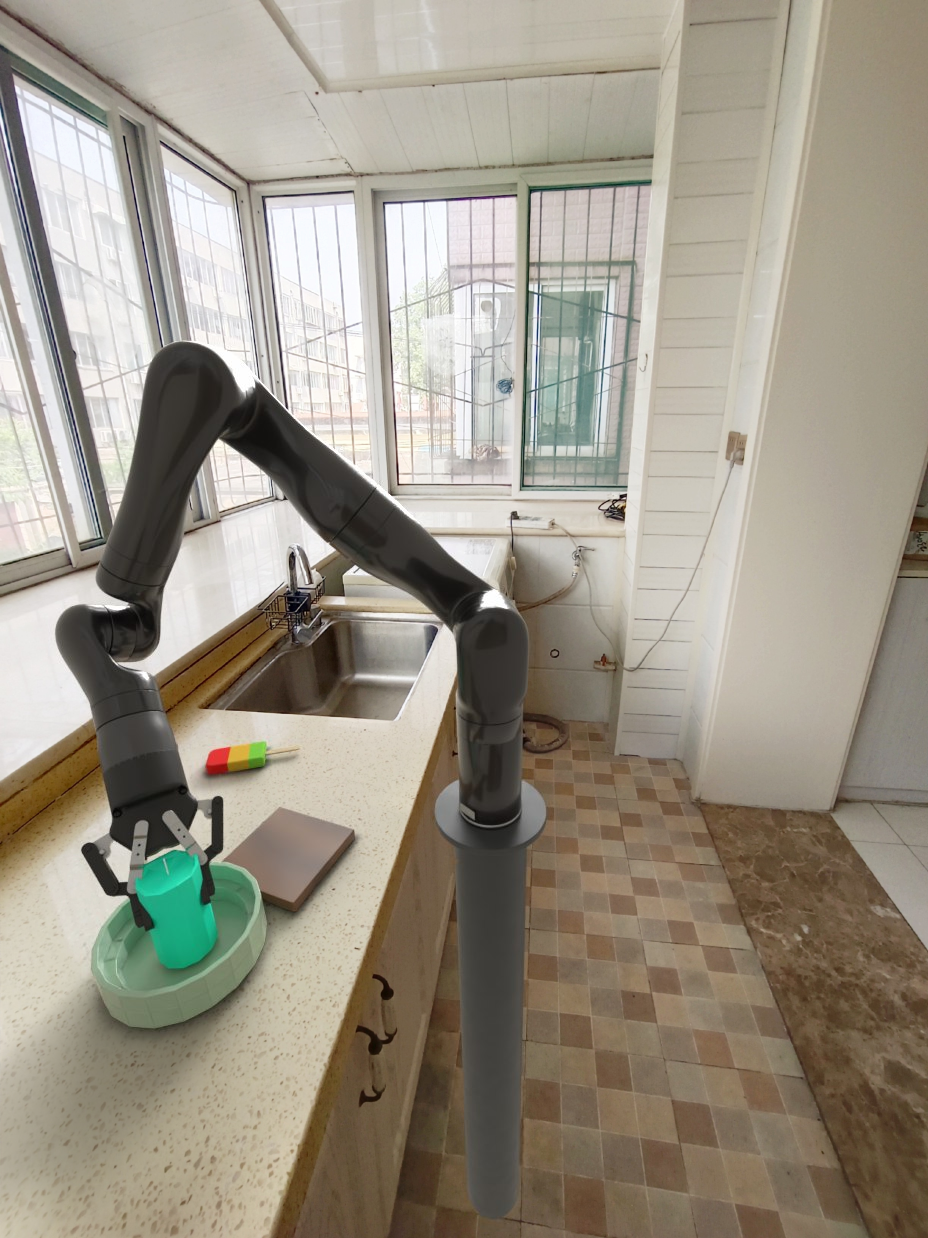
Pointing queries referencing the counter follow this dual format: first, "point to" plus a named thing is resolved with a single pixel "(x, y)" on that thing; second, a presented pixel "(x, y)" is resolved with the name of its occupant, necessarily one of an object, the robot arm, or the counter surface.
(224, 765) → the popsicle
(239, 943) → the bowl
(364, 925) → the counter surface
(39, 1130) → the counter surface
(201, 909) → the candle
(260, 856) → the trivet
